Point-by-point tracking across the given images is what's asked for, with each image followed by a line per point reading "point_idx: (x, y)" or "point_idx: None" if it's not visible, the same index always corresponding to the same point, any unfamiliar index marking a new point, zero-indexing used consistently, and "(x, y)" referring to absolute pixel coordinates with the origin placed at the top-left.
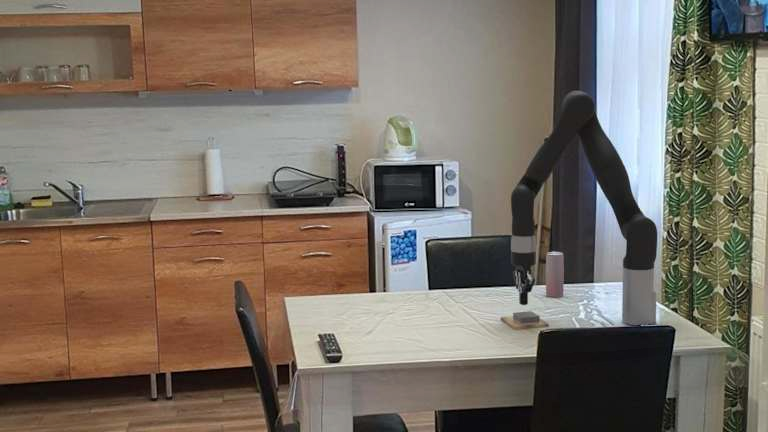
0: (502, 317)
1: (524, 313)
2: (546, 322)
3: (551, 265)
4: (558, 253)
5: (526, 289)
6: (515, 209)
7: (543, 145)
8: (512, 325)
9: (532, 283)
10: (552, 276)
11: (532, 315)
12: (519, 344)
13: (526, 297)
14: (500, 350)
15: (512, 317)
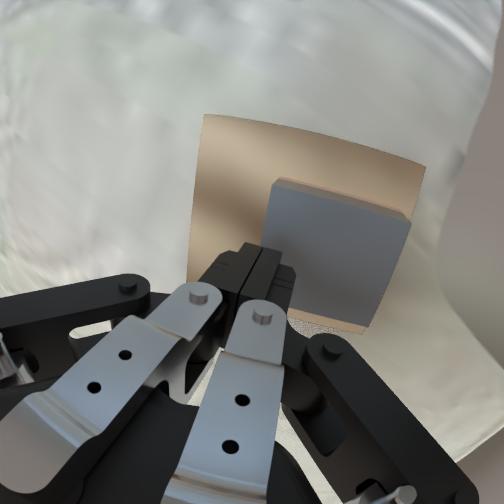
0: (190, 281)
1: (298, 255)
2: (398, 157)
3: None
4: None
5: (328, 402)
6: None
7: None
8: (333, 327)
9: (437, 469)
10: None
11: (370, 248)
12: (480, 393)
13: (288, 303)
14: (463, 435)
15: (209, 244)
